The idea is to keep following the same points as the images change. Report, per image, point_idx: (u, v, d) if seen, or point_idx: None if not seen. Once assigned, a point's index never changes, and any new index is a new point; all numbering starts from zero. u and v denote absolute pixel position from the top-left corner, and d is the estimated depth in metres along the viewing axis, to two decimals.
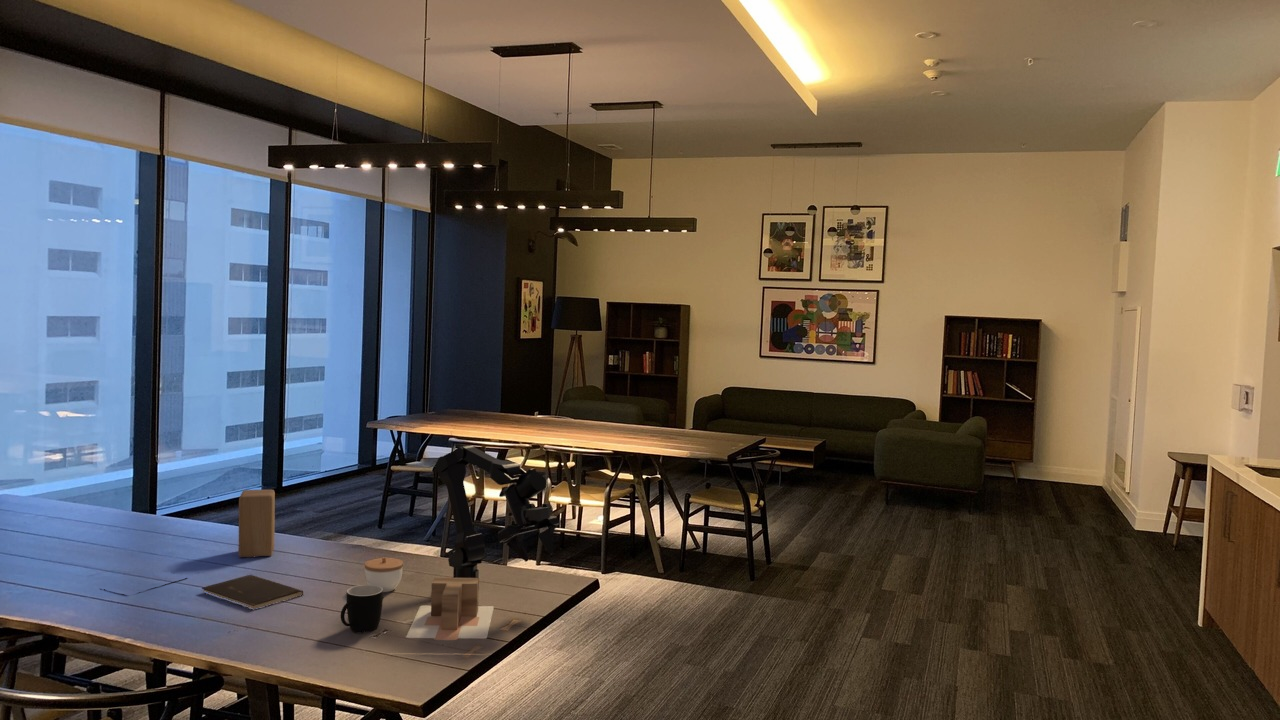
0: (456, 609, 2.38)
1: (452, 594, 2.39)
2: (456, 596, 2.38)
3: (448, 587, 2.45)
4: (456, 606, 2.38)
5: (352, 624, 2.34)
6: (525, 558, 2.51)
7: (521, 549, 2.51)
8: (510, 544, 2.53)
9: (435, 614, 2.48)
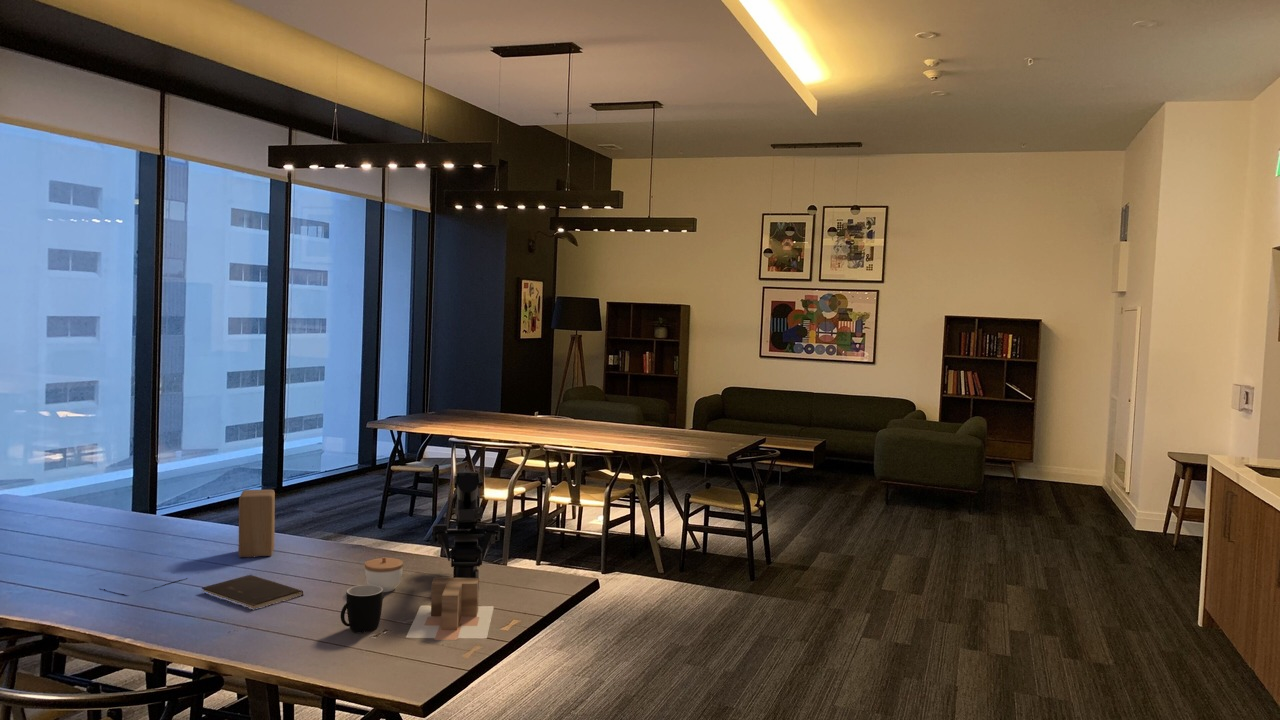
0: (456, 609, 2.38)
1: (452, 594, 2.39)
2: (456, 596, 2.38)
3: (448, 587, 2.45)
4: (456, 606, 2.38)
5: (352, 624, 2.34)
6: (447, 557, 2.58)
7: (445, 548, 2.59)
8: (442, 544, 2.63)
9: (435, 614, 2.48)
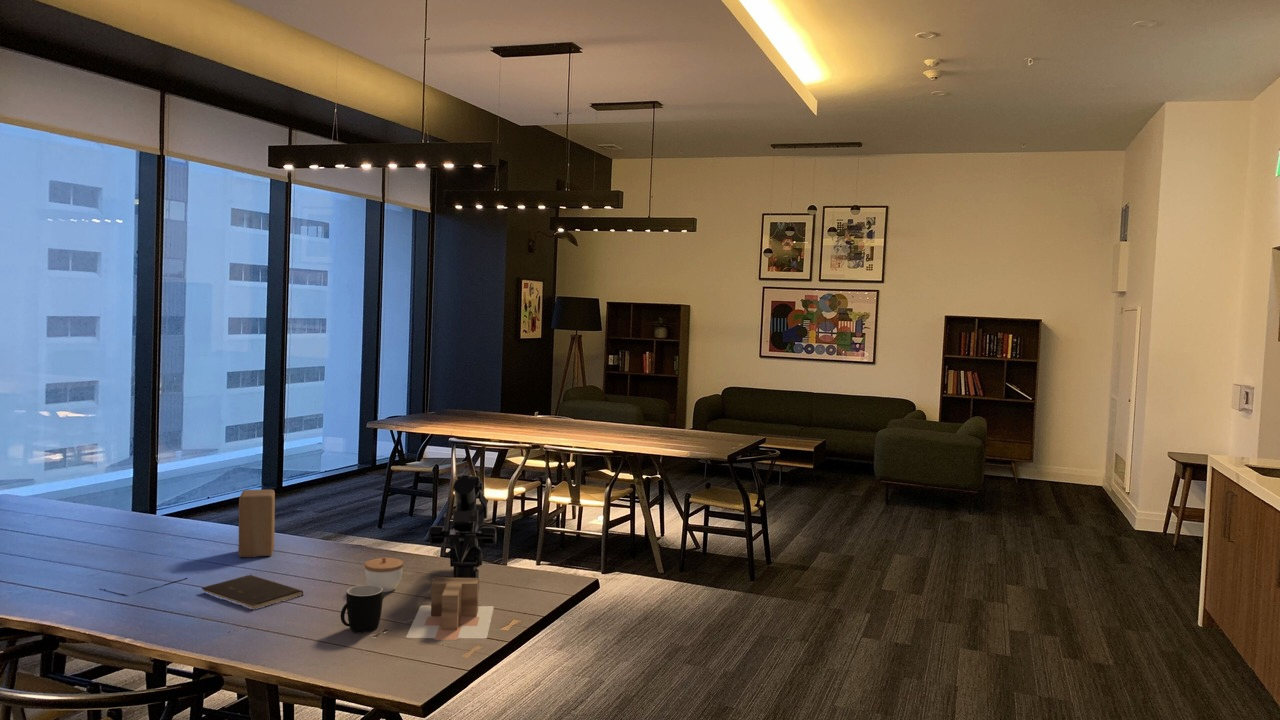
0: (456, 609, 2.38)
1: (452, 594, 2.39)
2: (456, 596, 2.38)
3: (448, 587, 2.45)
4: (456, 606, 2.38)
5: (352, 624, 2.34)
6: (458, 559, 2.60)
7: (456, 550, 2.61)
8: (454, 546, 2.65)
9: (435, 614, 2.48)
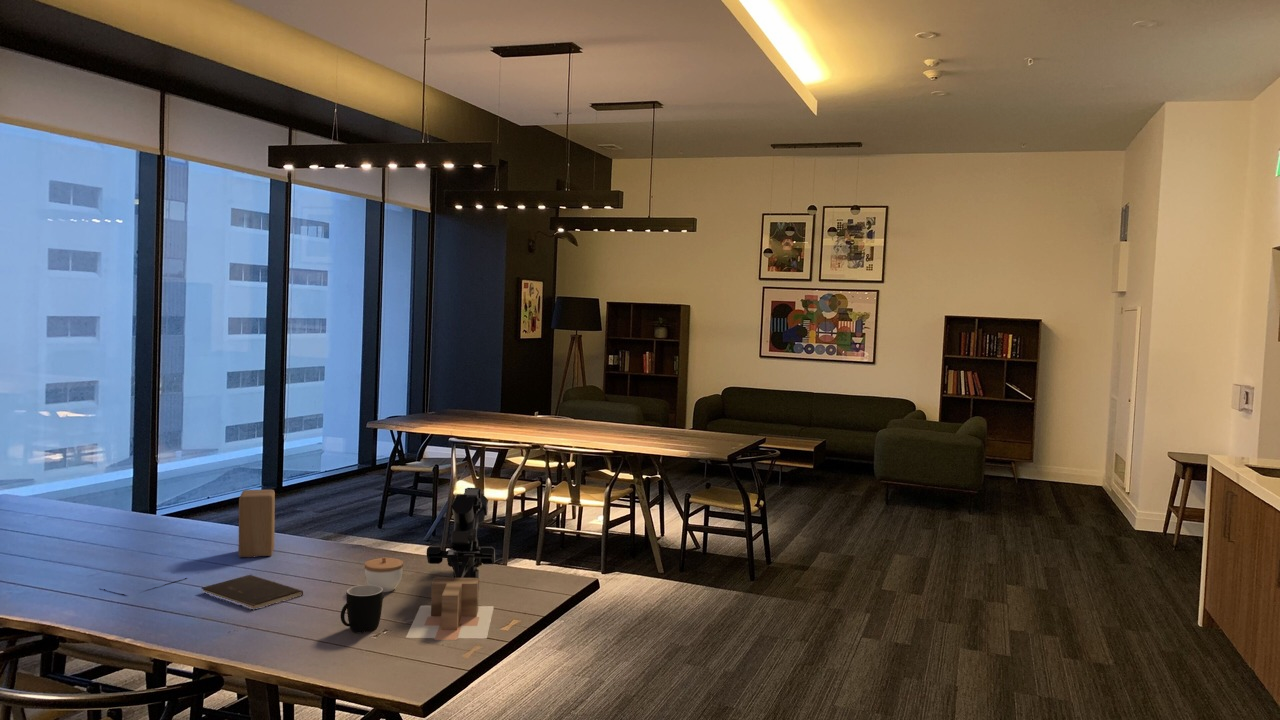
0: (456, 609, 2.38)
1: (452, 594, 2.39)
2: (456, 596, 2.38)
3: (448, 587, 2.45)
4: (456, 606, 2.38)
5: (352, 624, 2.34)
6: None
7: (454, 570, 2.59)
8: (453, 566, 2.62)
9: (435, 614, 2.48)
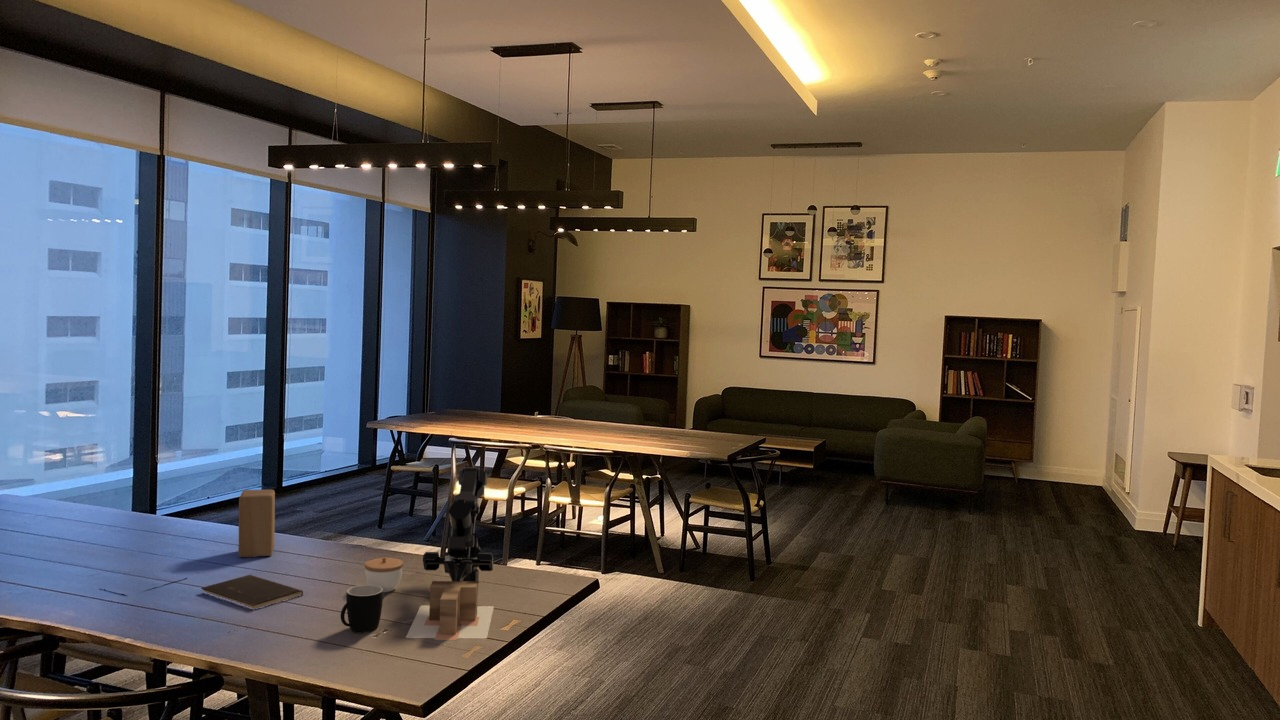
0: (454, 613, 2.35)
1: (450, 598, 2.36)
2: (454, 600, 2.35)
3: (447, 591, 2.41)
4: (454, 610, 2.35)
5: (352, 624, 2.34)
6: None
7: (451, 577, 2.52)
8: (450, 573, 2.55)
9: (433, 618, 2.45)
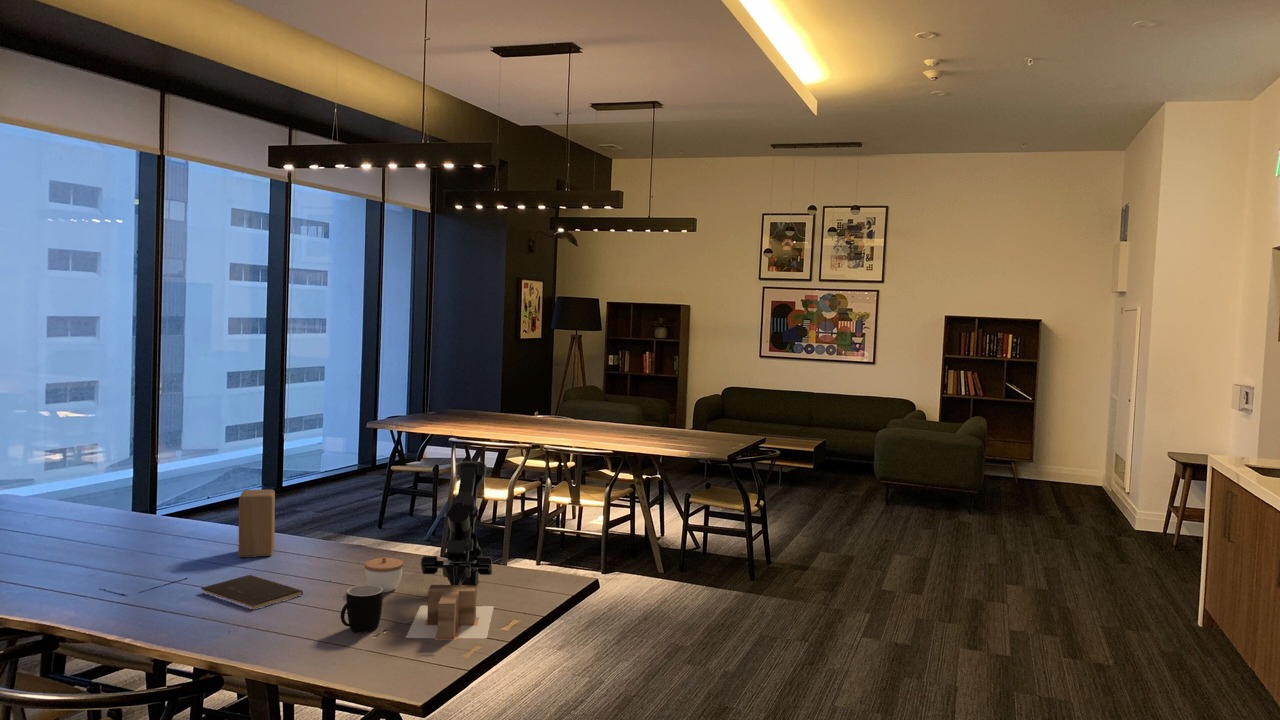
0: (453, 618, 2.32)
1: (449, 602, 2.33)
2: (453, 604, 2.32)
3: (445, 595, 2.38)
4: (453, 614, 2.32)
5: (352, 624, 2.34)
6: None
7: (450, 581, 2.49)
8: (448, 577, 2.52)
9: (431, 623, 2.42)
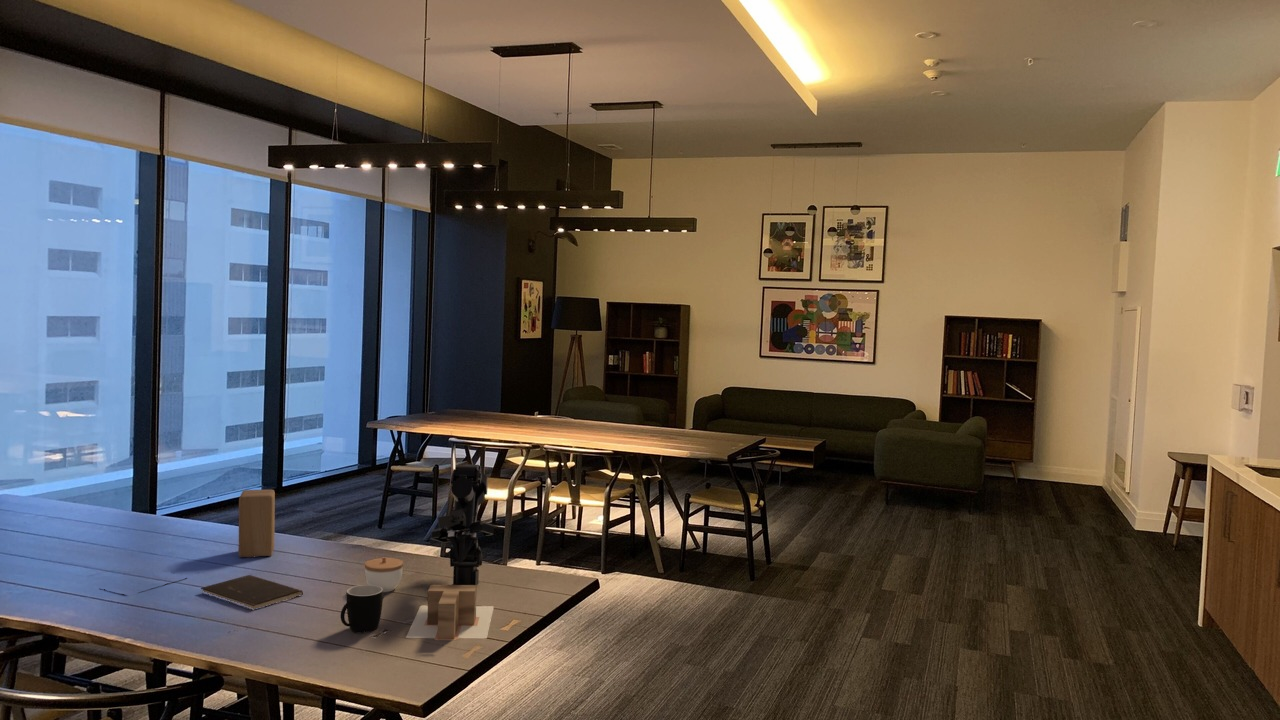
0: (453, 618, 2.32)
1: (449, 602, 2.33)
2: (453, 604, 2.32)
3: (445, 595, 2.38)
4: (453, 614, 2.32)
5: (352, 624, 2.34)
6: None
7: None
8: None
9: (431, 623, 2.42)
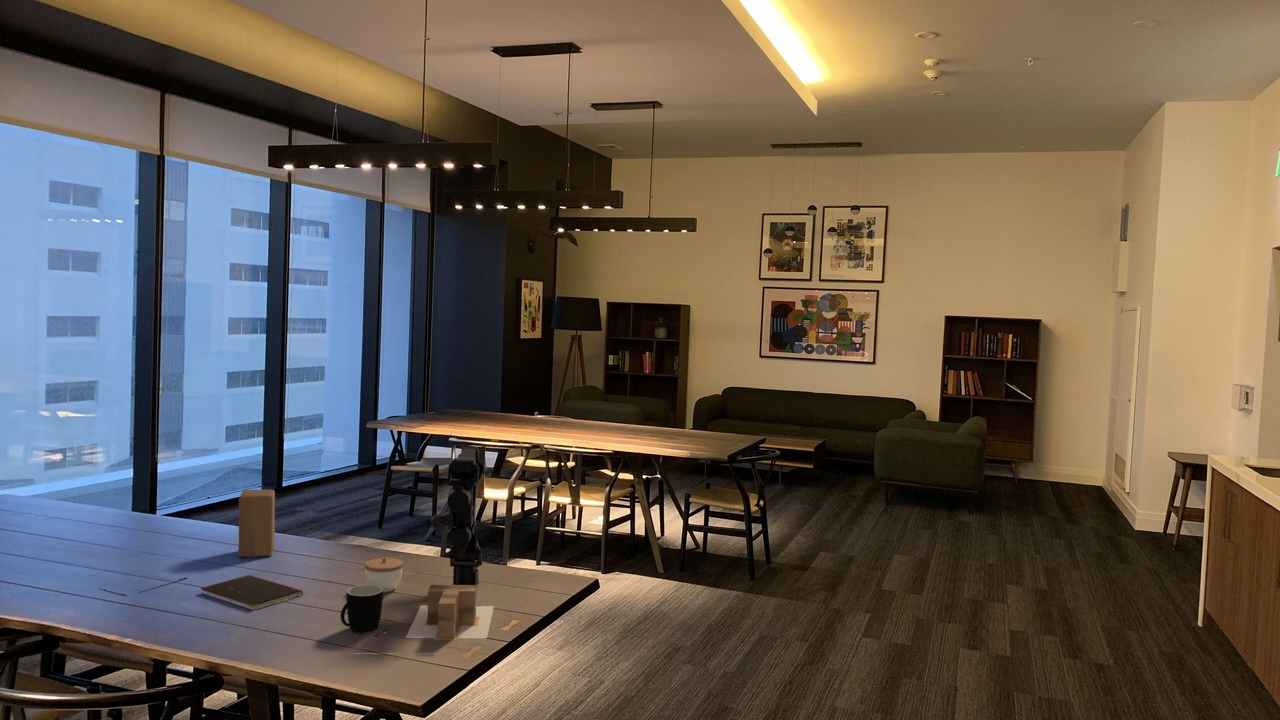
0: (453, 618, 2.32)
1: (449, 602, 2.33)
2: (453, 604, 2.32)
3: (445, 595, 2.38)
4: (453, 614, 2.32)
5: (352, 624, 2.34)
6: None
7: None
8: None
9: (431, 623, 2.42)
